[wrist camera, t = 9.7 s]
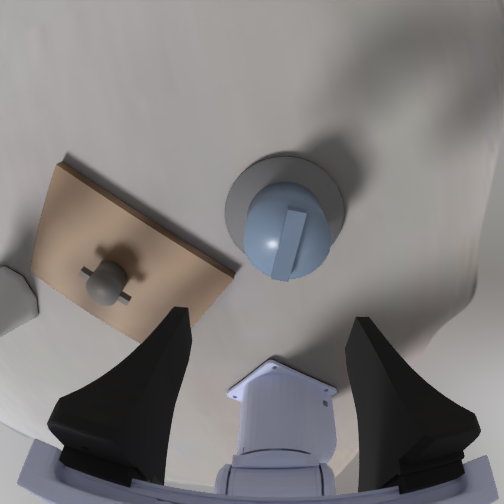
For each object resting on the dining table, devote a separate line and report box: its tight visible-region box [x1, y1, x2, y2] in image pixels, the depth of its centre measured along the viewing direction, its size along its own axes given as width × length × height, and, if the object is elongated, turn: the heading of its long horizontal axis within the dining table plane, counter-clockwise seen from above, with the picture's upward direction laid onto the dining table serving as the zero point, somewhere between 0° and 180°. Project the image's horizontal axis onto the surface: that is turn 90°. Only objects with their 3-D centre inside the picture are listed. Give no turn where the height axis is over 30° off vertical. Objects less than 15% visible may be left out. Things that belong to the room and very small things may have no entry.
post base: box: [30, 162, 235, 344], centre depth 23 cm, size 16×12×3 cm
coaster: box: [225, 156, 344, 254], centre depth 21 cm, size 8×8×1 cm
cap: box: [243, 182, 331, 282], centre depth 19 cm, size 5×5×4 cm
